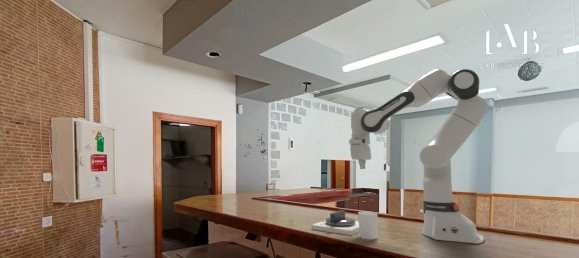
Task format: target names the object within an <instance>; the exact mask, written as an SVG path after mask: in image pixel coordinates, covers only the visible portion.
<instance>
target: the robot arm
mask: <svg viewBox="0 0 579 258" xmlns="http://www.w3.org/2000/svg"><path fill="white" fill-rule="evenodd" d="M479 89H480V78H479V76H478V74H477V73H476V71H473V70H471V69H469V68H465V69H464V68H463V69H459V70H456V71H455V72H454V73H452V75H450V74H448V73H447V72H446V71H445V70H443V69H434V70H432V71H430V72H428V73H426V74H424V75H423V76H422V77H420V78H418V80H416V81H414V82H413V83H412V84H410V85H409V86H408V87H407V88H406V89H404V90H403V91H402V92H400V93H399V94H397V95H396V96H394V97H393V98H392V99H389V100H388V101H386V103H384V104H382V105H381V106H379V107H377V108H376V109H375V108H374V109H371V110H367V109H366V108H359V109H356V110H354V111H352V113H351V116H350V128H351V131H352V132H351V138H350V139H349V140H348V144H349V145H350V157H351V159H352V160H353V161H357V162H358V164H359V169H360V170H365V169H366V164H367V163H366V162H367V161H369V160H372V152H371V146H370V145H371V136H370V134H371V133H372V134H378V135H379V134H383V133H385V132H387V130H388V129H389V126H390V123H389V120H388V119H389V118H391V117H393V116H394V115H395V114H397V113H399V112H400V111H402V110H404V109H408V108H409V109H410V108H419V107H422V106H424V105H426V104H428V103H429V102H431V101H433V100H434V99H436V98H437V97H438V96H440V95H441V94H446V95H447V96H449V97H451V98H453V99H454V100H457V104H456V106H455V107H454V109H453V110H452V111H451V113H450V114H449V115H448V117H447V118H446V119H445V120H444V122H443V123H442V124H441V126H440V127H439V128H438V130H437V131H435V133H434V134H433V135H432V136H431V138H429V140H428V141H427V142H426V144H425V145H424V146H423V147H422V148H421V150H420V152H419V159H420V162H421V164H422V165H423V180H422V184H423V185H422V186H423V187H422V188H423V202H422V207H423V209H422V210H423V214H424V215H423V216H424V219H423V229H422V232H421V234H422V235H424V236H426V237H429V238H432V239H434V240H437V241H438V240H439V241H446V242H447V241H448V242H459V243H467V244H468V243H469V244H482V243H484V242H485V238H484V235H483V234H479V233H478V232H477V231H478V230H477V226H476V225H475V223H474V221H472V220H471V219H469V217H467V216H466V215H464V214H463V213H461V212H460V206H459V203H456V202H454V200H453V197H454V196H453V190H452V189H453V188H452V164H451V163H452V160H451V159H452V158H453V156H454V155H456V153H457V152H458V151H459V150H460V149H461V147H462V146H463V145H464V143H465V142H466V141H467V139H469V137H470V136H471V135H472V133H473V132H474V131H475V129H476V128H477V127H478V125H479V124H480V122H482V120H483V118H484V117H485V115H486V113H487V111H488V109H489V104H488V102H487V101H486V99H484V97H481V96H480V95H479V92H480V91H479Z"/></svg>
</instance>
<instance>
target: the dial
mask: <svg viewBox="0 0 579 258" xmlns="http://www.w3.org/2000/svg"><path fill="white" fill-rule="evenodd" d="M329 214H330V216H329V217H327V218H326V219H325V220H326V224H328V225H332V226H352V225H355V221H356V219H354V218H351V217H346V210H345V209H340V210H338V211H334V212H331V213H329Z"/></svg>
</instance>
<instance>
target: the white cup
mask: <svg viewBox="0 0 579 258" xmlns="http://www.w3.org/2000/svg"><path fill="white" fill-rule="evenodd" d="M357 216H358V219H357V220H358V221H359V230H360V231H359V237H360V239H364V240H376V239H377V238H378V213H377V212H374V211H365V210H363V211H362V210H361V211H358V212H357Z"/></svg>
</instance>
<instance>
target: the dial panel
mask: <svg viewBox="0 0 579 258" xmlns="http://www.w3.org/2000/svg"><path fill="white" fill-rule="evenodd" d="M311 230H313V231H314V230H315V231H320V232H327V233H328V232H329V233H333V234H338V235H347V236H353V235H356V234H357V233H360V230H359V220H355V225H352V226H332V225H328V224H326V219H324V220H322V221H319V222H316V223H313V224H311Z"/></svg>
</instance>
